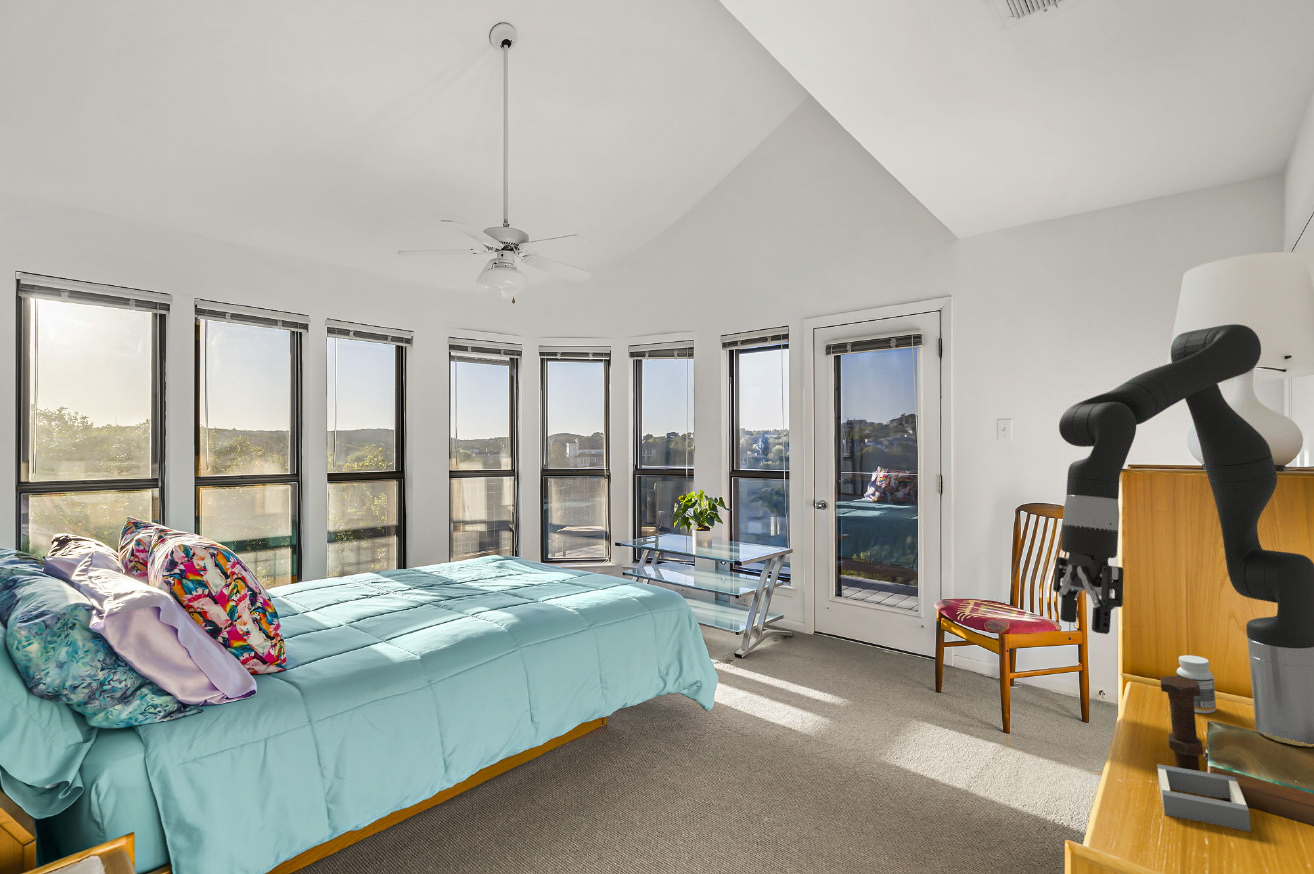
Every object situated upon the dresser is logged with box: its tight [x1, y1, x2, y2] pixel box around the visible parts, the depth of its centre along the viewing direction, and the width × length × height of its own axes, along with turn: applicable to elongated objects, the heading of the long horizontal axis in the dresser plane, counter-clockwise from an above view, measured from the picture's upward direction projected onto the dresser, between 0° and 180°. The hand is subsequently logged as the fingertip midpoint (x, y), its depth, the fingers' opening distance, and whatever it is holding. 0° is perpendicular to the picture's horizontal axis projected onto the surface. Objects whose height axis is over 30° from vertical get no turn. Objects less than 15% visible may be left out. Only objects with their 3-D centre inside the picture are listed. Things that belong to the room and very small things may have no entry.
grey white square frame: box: [1156, 763, 1252, 833], centre depth 98 cm, size 10×10×3 cm
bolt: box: [1159, 675, 1204, 771], centre depth 107 cm, size 6×5×15 cm
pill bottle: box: [1176, 654, 1217, 714], centre depth 129 cm, size 6×6×10 cm
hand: (1083, 626), depth 102 cm, fingers open, 8 cm apart
